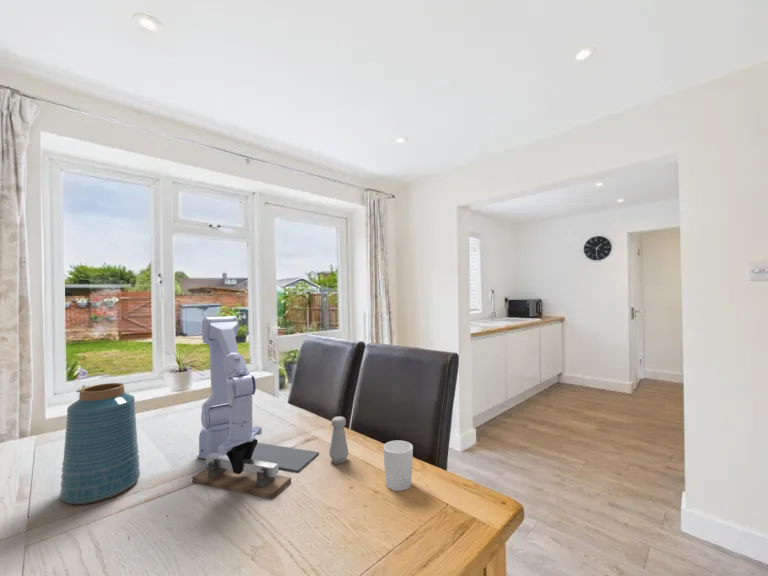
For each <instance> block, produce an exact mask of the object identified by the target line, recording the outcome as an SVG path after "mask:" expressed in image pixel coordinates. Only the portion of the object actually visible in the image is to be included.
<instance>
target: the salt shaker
mask: <svg viewBox="0 0 768 576" xmlns="http://www.w3.org/2000/svg"><path fill="white" fill-rule="evenodd" d="M346 424H347V420H346V418H345V417H344V416H340V415H339V416H334V417H333V418H332V419H331V426H332V427H333V428H332V432H331V433H332V435H331V439H330V440H331V441H330V447H329V450H328V451H329V457H330V459H331V461H332V463H333V462H334V464H339V465H341V464H343V463H345V462H346V460H347V458H348V456H349V448H348V441H347V438H346V431H345V426H346Z"/></svg>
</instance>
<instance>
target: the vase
mask: <svg viewBox="0 0 768 576" xmlns="http://www.w3.org/2000/svg"><path fill="white" fill-rule="evenodd" d="M135 403H136V402H135V396H134V395H132V394H129V393H126V392H125V384H124V383H122V382H109V383H102V384H101V383H100V384H94V385H89V386H87V387H86V386H85V387H84V388H81V389H80V390H79V396H78V400H76V401H74V402H73V403H71V404H70V405H69V406H68V407H67V410H66V412H67V414H66V423H65V424H66V425H65V438H64V447H63V459H62V460H63V461H62V467H61V472H62V473H61V477H60V478H61V482H60V490H59V491H60V492H59V494H60V495H59V497H60V500H61V501H62V502H64V503H67V504H72V505H87V504H92V503H98V502H101V501H105V500H107V499H110V498H113V497H115V496H117V495H119V494H122V493H123V492H125V491H126V490H128V489H129V488H131V487H132V486H133V485H134V484H135V483H136V482H137V481H138V480H139V478H140V476H141V475H140V474H141V472H140V471H141V470H140V461H139V460H140V456H139V455H140V454H139V453H140V451H139V444H138V433H137V431H138V429H137V416H136V404H135Z"/></svg>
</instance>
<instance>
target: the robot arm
mask: <svg viewBox="0 0 768 576" xmlns="http://www.w3.org/2000/svg"><path fill="white" fill-rule="evenodd" d="M239 329H240V322H239V319H238V317H237V315H230V316H229V315H228V316H227V315H226V316H225V315H224V316H210V317H209V316H204V317H203V319H202V321H201V339H202V342H203V344H206V345H207V346H208V348H209V366H210V368H209V369H210V389H211V391H210V394H211V395H210V396H209V397H208V398H207V399H206V400H205V401H204V402H203V403H202V404H201V405H202V406H201V413H200V414H201V415H200V419H201V426H202V428H201V429H200V433H199V436H198V454H197V456H196V458H199V459H204V460H206V456H208V455H209V454H211V453H218V455H227V456H228V458H229V460H230V462H231V465H232V469H233V472H234V473H236V474H241V472H242V463H243V458H247V459H251V458H252V454H253V451H254V449H255V447H256V445H257V443H259V442H258V441H259V440H258V439H256V436H259V435H262V432H263V431H262V430H263V429H262V426H254V427H253V395H255V394H256V390H257V384H256V379H255V375H254V374H253V373H252V372H251V371H250V370H249V369H248V366H247V364H246V363H247V362H246V361H245V358H244V355H243V354H242V353H239V350H238V344H237V340H236V337H237V336H238V332H239Z"/></svg>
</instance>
